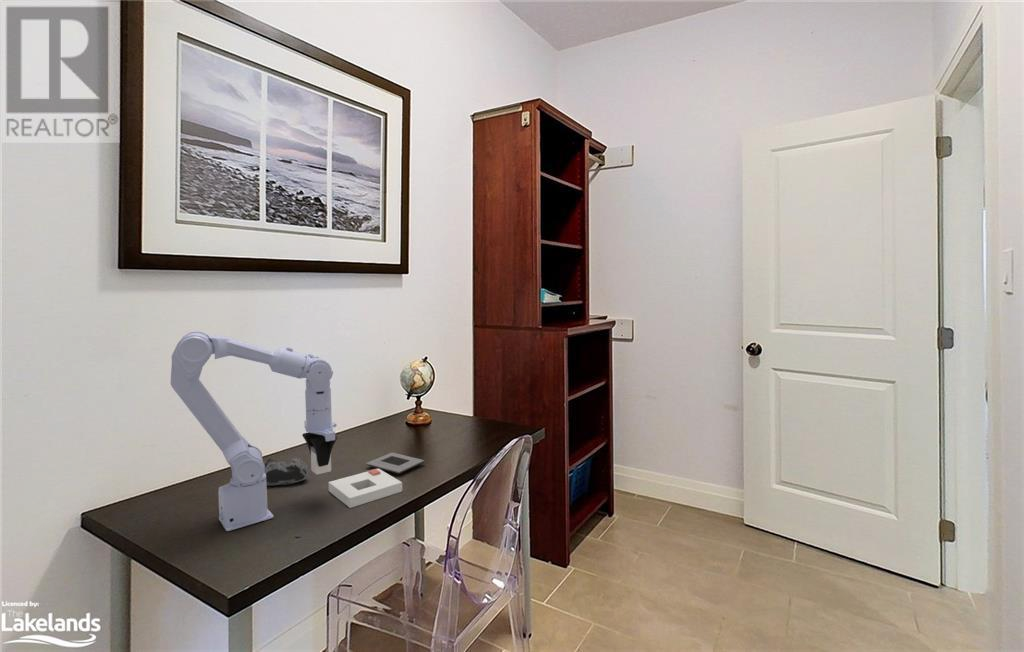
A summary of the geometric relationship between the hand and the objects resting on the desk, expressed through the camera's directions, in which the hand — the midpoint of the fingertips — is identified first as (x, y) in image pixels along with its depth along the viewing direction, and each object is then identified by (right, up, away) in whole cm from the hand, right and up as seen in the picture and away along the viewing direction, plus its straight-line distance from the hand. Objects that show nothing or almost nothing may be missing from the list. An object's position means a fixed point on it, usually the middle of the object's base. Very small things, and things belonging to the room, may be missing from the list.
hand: (320, 463), depth 116 cm
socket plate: (+9, -9, +7) cm, 15 cm away
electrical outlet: (+12, -9, +24) cm, 28 cm away
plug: (0, -2, 0) cm, 2 cm away
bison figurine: (-15, -9, +15) cm, 23 cm away
